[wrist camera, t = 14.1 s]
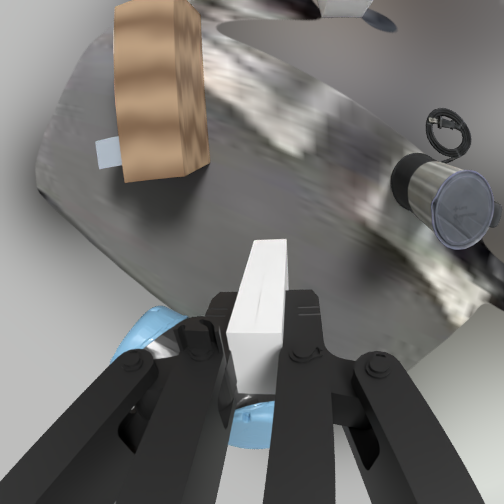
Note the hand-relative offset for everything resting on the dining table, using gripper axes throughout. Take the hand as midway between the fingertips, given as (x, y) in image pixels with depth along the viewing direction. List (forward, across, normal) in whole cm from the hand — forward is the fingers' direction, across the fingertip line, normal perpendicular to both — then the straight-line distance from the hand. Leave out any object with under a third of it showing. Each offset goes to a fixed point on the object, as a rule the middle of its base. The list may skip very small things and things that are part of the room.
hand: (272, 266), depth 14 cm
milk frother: (+29, -22, -2) cm, 37 cm away
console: (+29, +14, -14) cm, 35 cm away
